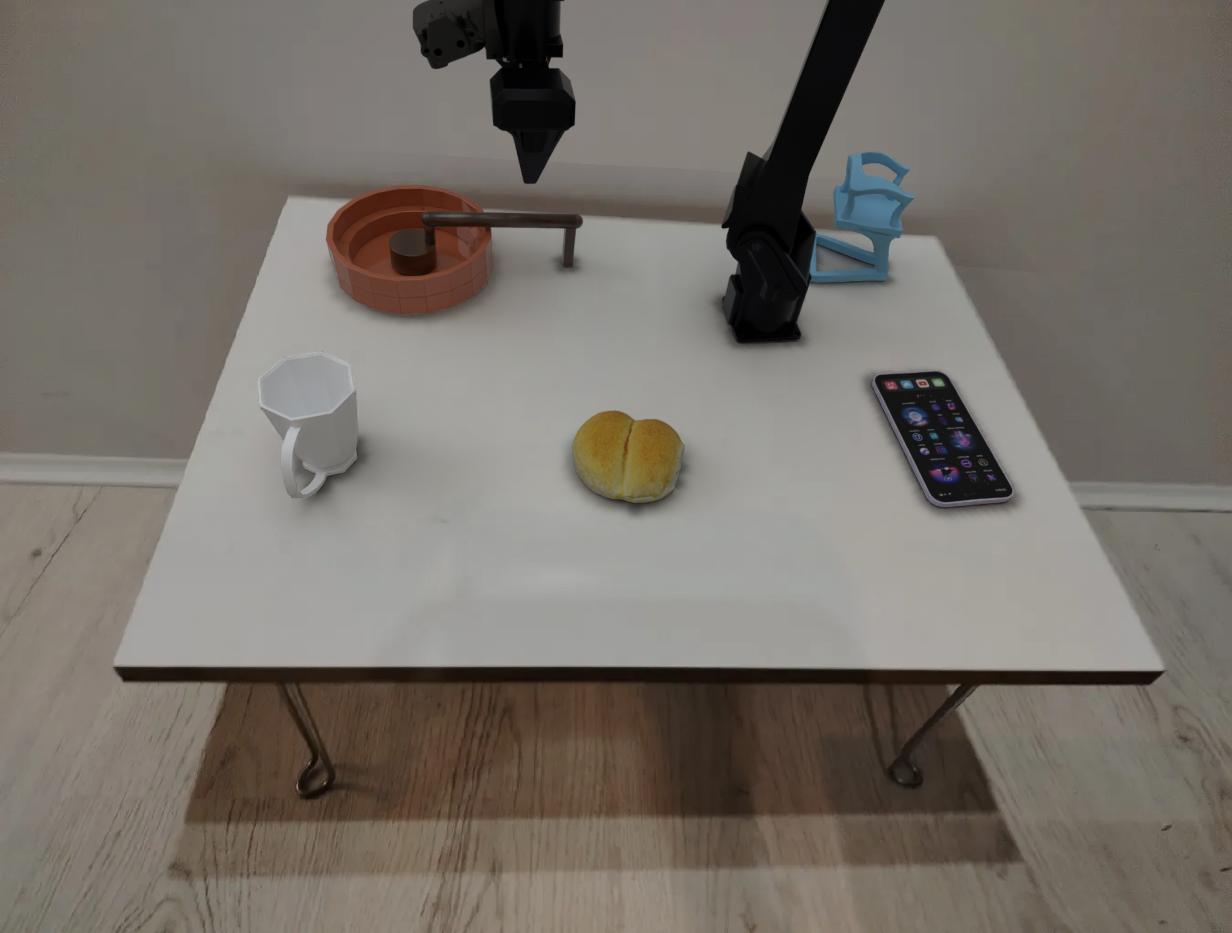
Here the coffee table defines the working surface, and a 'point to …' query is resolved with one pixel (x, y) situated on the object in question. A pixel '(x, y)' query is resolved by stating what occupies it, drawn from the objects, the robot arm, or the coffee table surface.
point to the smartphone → (941, 439)
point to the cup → (312, 415)
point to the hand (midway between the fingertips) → (525, 154)
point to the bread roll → (627, 457)
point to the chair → (865, 217)
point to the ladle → (418, 247)
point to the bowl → (366, 255)
